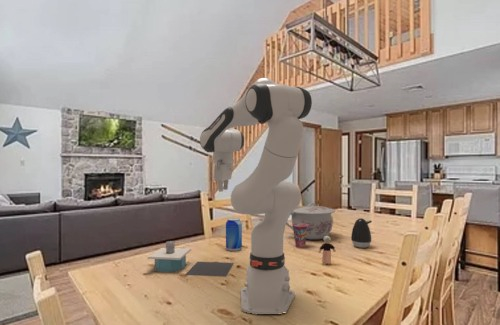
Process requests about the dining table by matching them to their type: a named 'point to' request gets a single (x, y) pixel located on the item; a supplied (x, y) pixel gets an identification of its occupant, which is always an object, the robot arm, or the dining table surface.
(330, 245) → the grandmother figurine
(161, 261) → the bowl
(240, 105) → the robot arm
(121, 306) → the dining table surface
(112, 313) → the dining table surface
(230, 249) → the beer can
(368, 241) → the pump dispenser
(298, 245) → the cup
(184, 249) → the cover board
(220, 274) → the mat
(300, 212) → the chamber pot
